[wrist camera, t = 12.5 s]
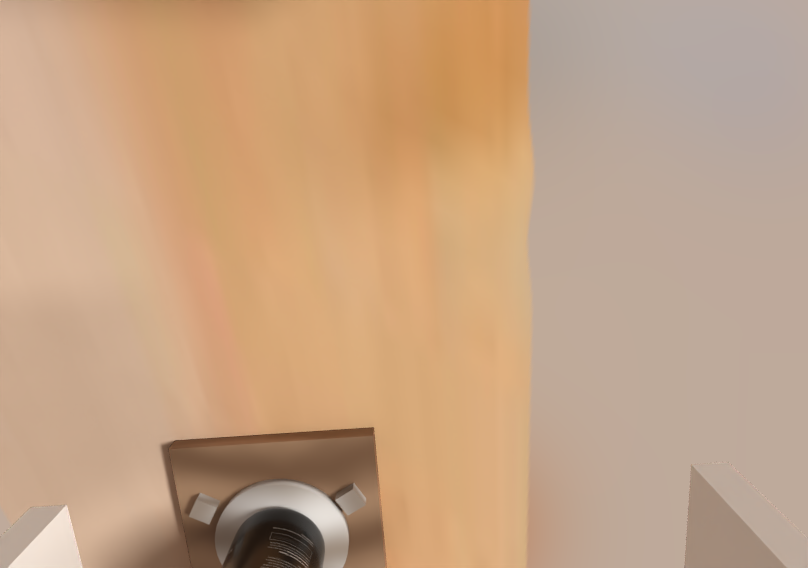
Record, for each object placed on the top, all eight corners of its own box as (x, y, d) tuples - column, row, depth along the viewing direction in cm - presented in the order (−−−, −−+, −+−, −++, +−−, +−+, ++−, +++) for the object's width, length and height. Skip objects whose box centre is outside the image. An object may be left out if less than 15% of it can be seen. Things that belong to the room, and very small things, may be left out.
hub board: (174, 440, 40) (163, 455, 38) (373, 427, 40) (372, 441, 38) (208, 615, 44) (199, 636, 42) (390, 603, 44) (389, 624, 42)
